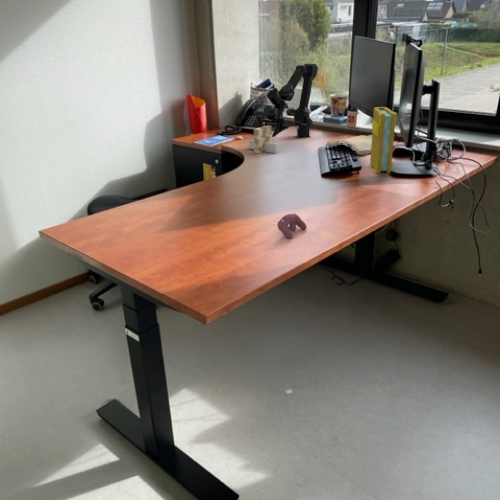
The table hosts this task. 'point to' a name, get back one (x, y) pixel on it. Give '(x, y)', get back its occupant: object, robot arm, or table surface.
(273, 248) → the table surface
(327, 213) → the table surface
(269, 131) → the birch slotted plate
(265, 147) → the light grey slotted rail
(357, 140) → the beige piece
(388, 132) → the book
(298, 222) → the video game controller
